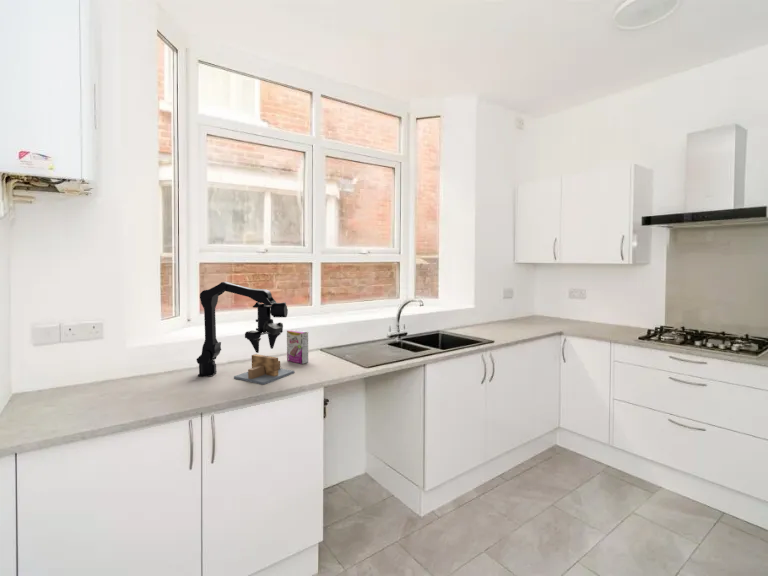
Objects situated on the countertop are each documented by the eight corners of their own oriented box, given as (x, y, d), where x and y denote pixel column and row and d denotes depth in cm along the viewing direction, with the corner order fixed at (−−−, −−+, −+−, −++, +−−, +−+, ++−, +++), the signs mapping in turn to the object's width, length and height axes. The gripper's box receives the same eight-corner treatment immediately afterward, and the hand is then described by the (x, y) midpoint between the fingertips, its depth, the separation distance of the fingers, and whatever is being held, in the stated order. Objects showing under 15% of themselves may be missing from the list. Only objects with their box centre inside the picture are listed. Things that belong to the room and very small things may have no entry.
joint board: (263, 384, 174) (263, 373, 173) (234, 378, 182) (233, 367, 181) (294, 372, 191) (294, 362, 191) (265, 367, 200) (265, 357, 199)
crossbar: (251, 371, 189) (251, 355, 188) (255, 370, 191) (255, 354, 190) (274, 376, 182) (274, 358, 182) (278, 374, 184) (278, 357, 184)
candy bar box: (286, 361, 212) (286, 330, 211) (293, 359, 216) (293, 329, 215) (302, 364, 206) (301, 332, 205) (308, 362, 210) (308, 331, 209)
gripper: (262, 321, 172) (263, 357, 174) (291, 315, 189) (291, 348, 190) (243, 319, 178) (244, 354, 179) (273, 314, 194) (273, 345, 195)
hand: (264, 350), depth 186 cm, fingers open, 9 cm apart
